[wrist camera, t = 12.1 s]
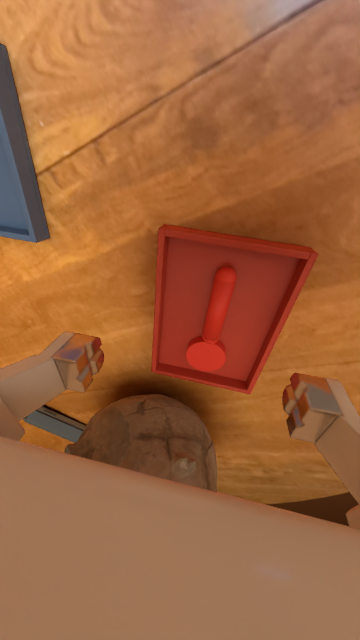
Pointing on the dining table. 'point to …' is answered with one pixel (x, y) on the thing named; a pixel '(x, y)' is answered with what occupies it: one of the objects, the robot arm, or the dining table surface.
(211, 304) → the red spoon
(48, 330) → the dining table surface
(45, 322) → the dining table surface
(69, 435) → the smartphone
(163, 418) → the bowl
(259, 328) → the red tray
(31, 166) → the blue tray
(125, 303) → the dining table surface
